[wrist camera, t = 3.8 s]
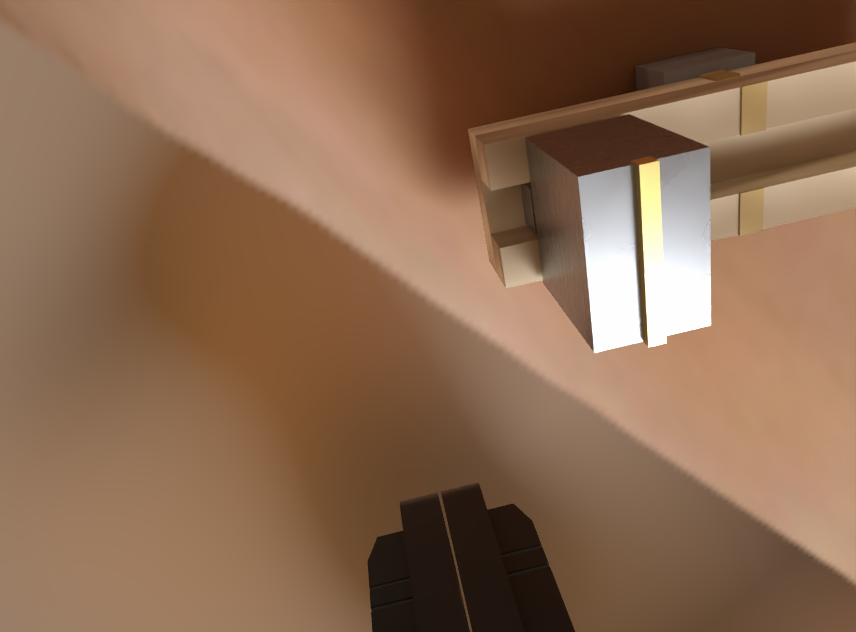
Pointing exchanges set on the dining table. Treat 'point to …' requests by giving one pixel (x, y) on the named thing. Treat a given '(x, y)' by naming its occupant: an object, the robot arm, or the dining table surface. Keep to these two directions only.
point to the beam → (710, 125)
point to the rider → (622, 228)
